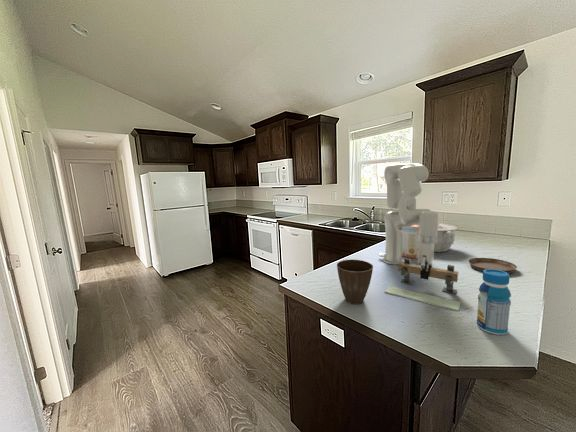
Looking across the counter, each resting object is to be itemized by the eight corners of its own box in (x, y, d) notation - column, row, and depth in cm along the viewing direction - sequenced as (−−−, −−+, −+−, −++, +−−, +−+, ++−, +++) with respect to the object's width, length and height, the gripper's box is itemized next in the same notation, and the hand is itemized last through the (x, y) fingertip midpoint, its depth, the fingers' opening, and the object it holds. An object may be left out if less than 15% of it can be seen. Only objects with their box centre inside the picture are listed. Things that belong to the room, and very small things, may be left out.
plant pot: (378, 298, 108) (378, 263, 106) (363, 313, 97) (363, 274, 95) (347, 289, 118) (347, 257, 116) (330, 301, 107) (330, 266, 105)
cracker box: (420, 257, 160) (421, 225, 157) (416, 259, 156) (417, 226, 153) (399, 252, 171) (399, 223, 168) (394, 254, 167) (395, 224, 164)
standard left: (397, 285, 120) (397, 262, 118) (402, 279, 126) (403, 257, 125) (408, 288, 116) (409, 264, 115) (413, 281, 123) (414, 258, 121)
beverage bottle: (498, 338, 79) (504, 279, 76) (470, 325, 86) (474, 270, 83) (513, 331, 82) (519, 274, 79) (485, 319, 90) (489, 266, 87)
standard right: (440, 295, 108) (441, 269, 106) (443, 288, 115) (445, 263, 113) (454, 298, 105) (455, 271, 103) (456, 291, 112) (458, 265, 110)
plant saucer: (472, 273, 131) (473, 267, 131) (464, 261, 150) (464, 256, 149) (523, 278, 122) (524, 272, 122) (508, 264, 141) (508, 259, 140)
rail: (397, 270, 120) (397, 263, 120) (399, 268, 123) (399, 261, 122) (456, 282, 105) (457, 274, 104) (457, 279, 107) (458, 271, 107)
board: (384, 292, 113) (384, 291, 113) (389, 287, 119) (389, 286, 118) (458, 311, 95) (458, 309, 95) (460, 303, 101) (460, 302, 101)
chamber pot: (415, 243, 194) (415, 217, 191) (457, 247, 178) (459, 218, 175) (408, 252, 172) (409, 222, 169) (455, 258, 155) (457, 225, 153)
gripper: (422, 234, 120) (421, 268, 123) (413, 241, 107) (412, 280, 110) (440, 235, 116) (438, 272, 118) (433, 243, 102) (431, 284, 105)
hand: (426, 275), depth 114 cm, fingers open, 6 cm apart
